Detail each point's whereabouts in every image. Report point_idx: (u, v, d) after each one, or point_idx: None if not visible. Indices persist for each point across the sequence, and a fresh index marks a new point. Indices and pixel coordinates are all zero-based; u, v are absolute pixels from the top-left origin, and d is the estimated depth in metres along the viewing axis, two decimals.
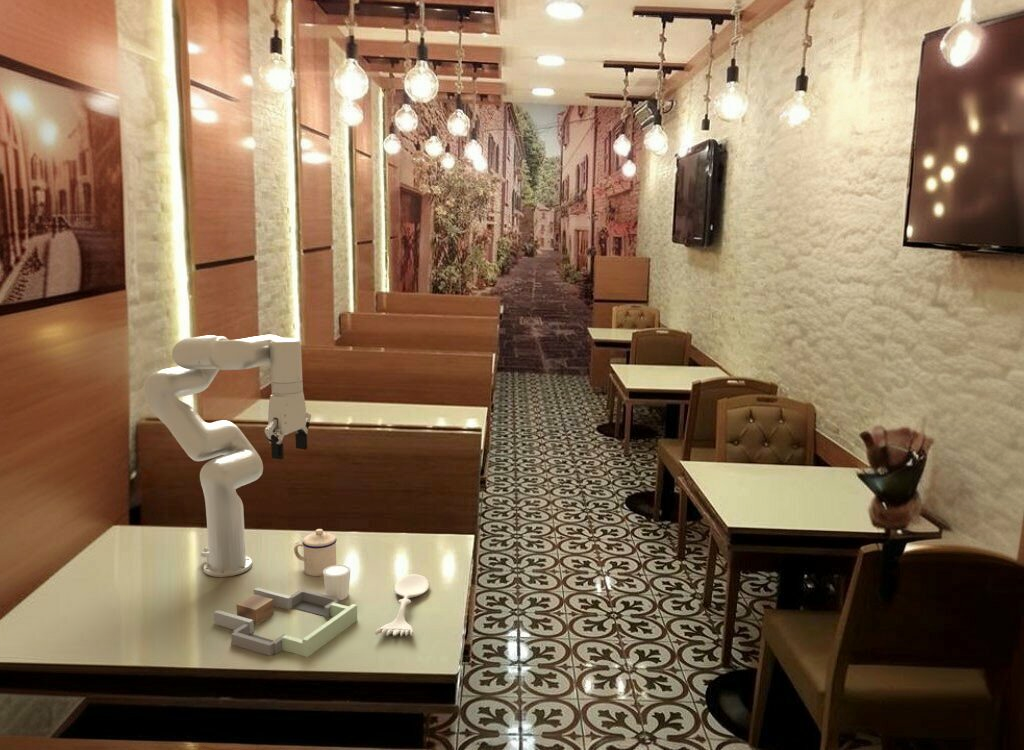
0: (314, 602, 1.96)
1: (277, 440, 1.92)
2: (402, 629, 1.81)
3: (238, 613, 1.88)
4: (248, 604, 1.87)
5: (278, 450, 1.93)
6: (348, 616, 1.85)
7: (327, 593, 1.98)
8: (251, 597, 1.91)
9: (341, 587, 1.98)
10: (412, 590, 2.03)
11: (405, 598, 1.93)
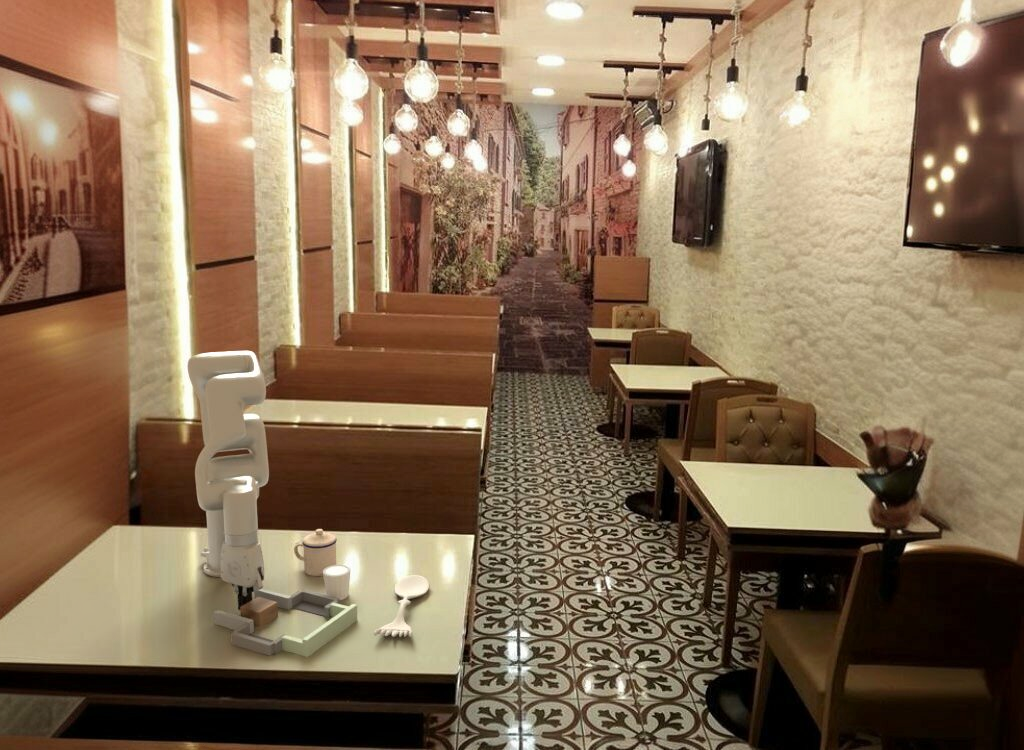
0: (314, 602, 1.96)
1: (253, 590, 1.90)
2: (401, 630, 1.81)
3: (242, 616, 1.86)
4: (252, 607, 1.86)
5: None
6: (348, 616, 1.85)
7: (327, 593, 1.98)
8: (255, 600, 1.90)
9: (341, 587, 1.98)
10: (412, 591, 2.02)
11: (405, 599, 1.93)
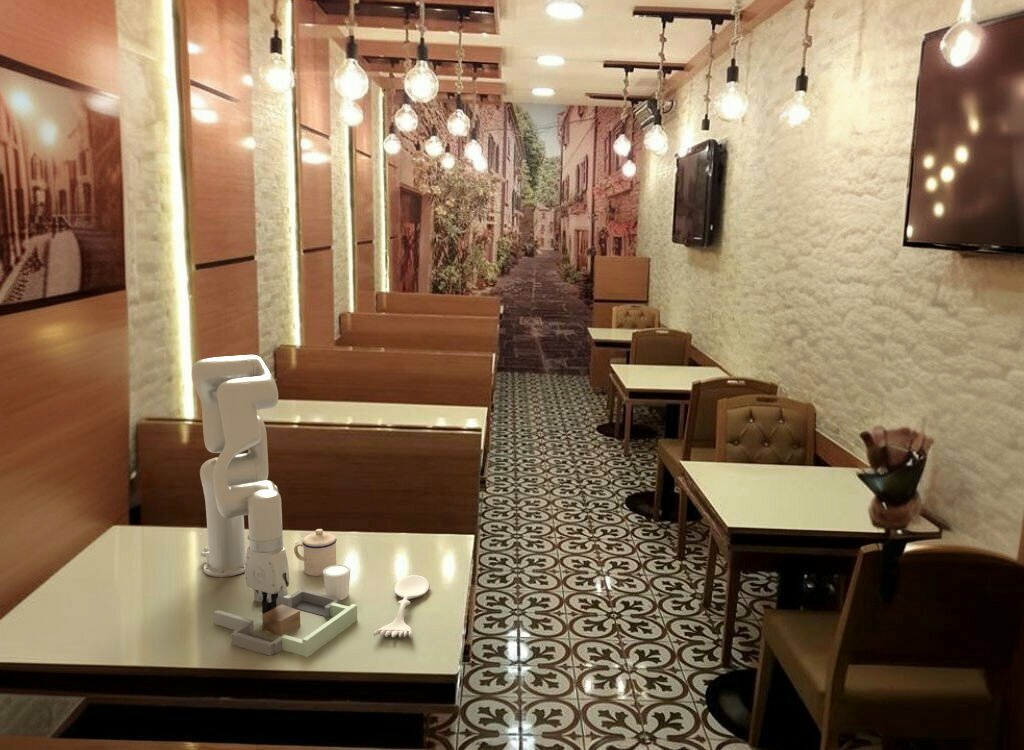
0: (314, 602, 1.96)
1: (277, 596, 1.87)
2: (401, 630, 1.81)
3: (264, 623, 1.83)
4: (274, 615, 1.82)
5: None
6: (348, 616, 1.85)
7: (327, 593, 1.98)
8: (278, 607, 1.86)
9: (341, 587, 1.98)
10: (412, 591, 2.02)
11: (404, 599, 1.92)
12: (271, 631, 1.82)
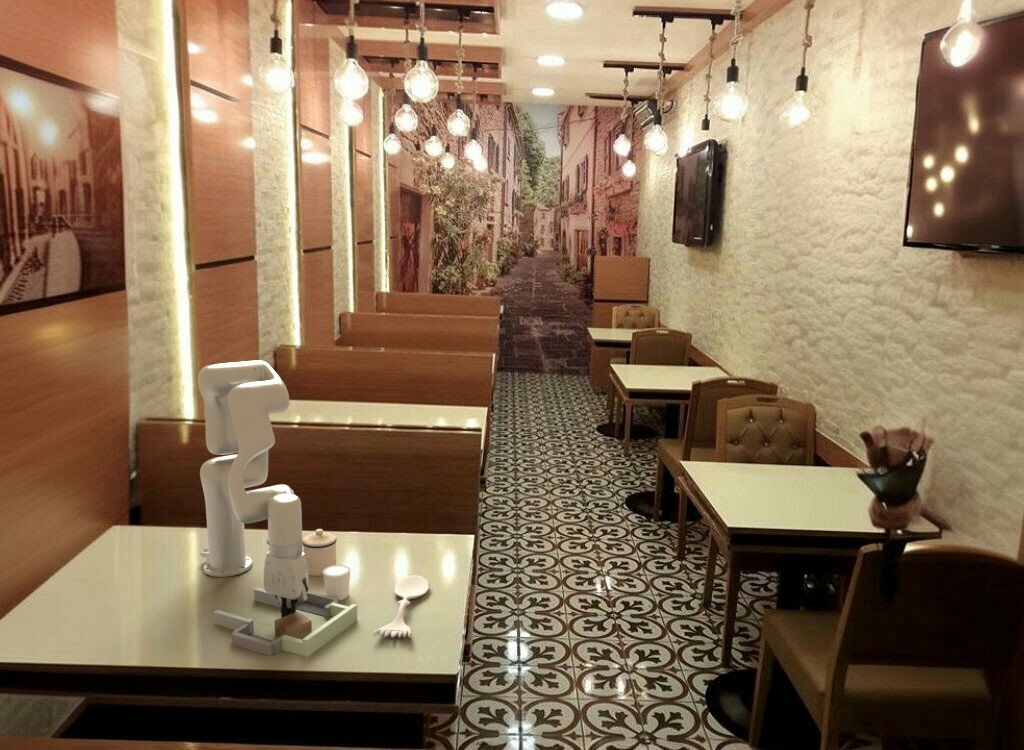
0: (314, 602, 1.96)
1: (297, 602, 1.85)
2: (400, 630, 1.81)
3: (275, 630, 1.80)
4: (285, 622, 1.79)
5: None
6: (348, 616, 1.85)
7: (327, 593, 1.98)
8: (292, 614, 1.82)
9: (341, 587, 1.98)
10: (412, 591, 2.02)
11: (404, 599, 1.92)
12: None
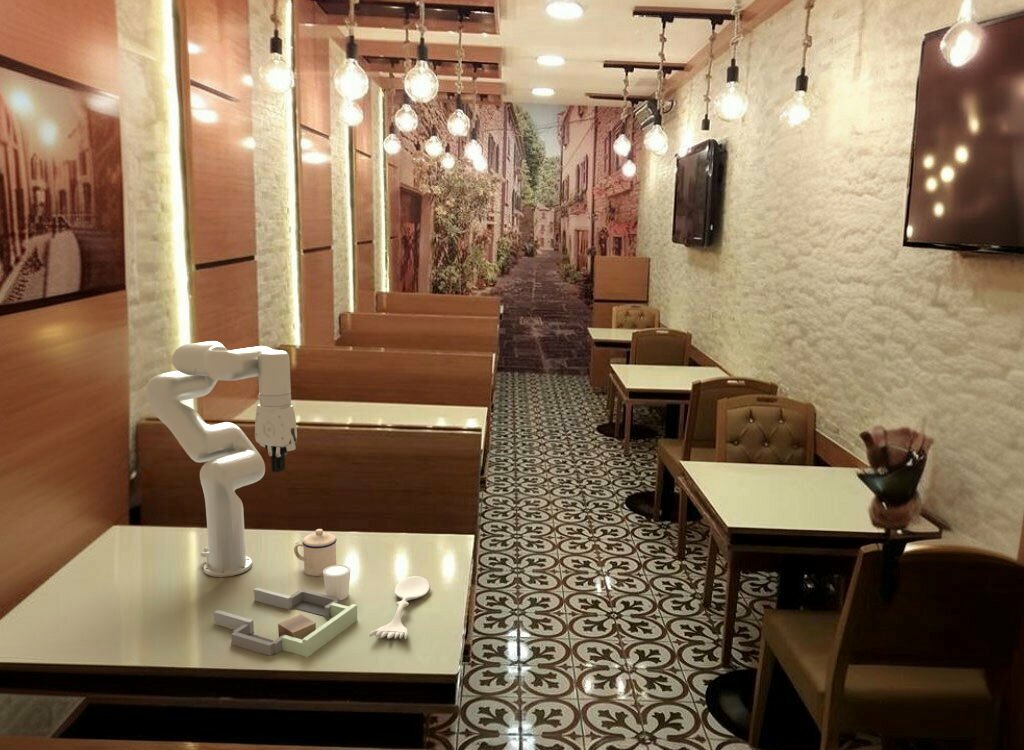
0: (314, 602, 1.96)
1: (286, 453, 1.98)
2: (397, 632, 1.80)
3: (279, 633, 1.79)
4: (289, 625, 1.78)
5: None
6: (348, 616, 1.85)
7: (327, 593, 1.98)
8: (296, 617, 1.81)
9: (341, 587, 1.98)
10: (412, 592, 2.01)
11: (403, 600, 1.92)
12: None
